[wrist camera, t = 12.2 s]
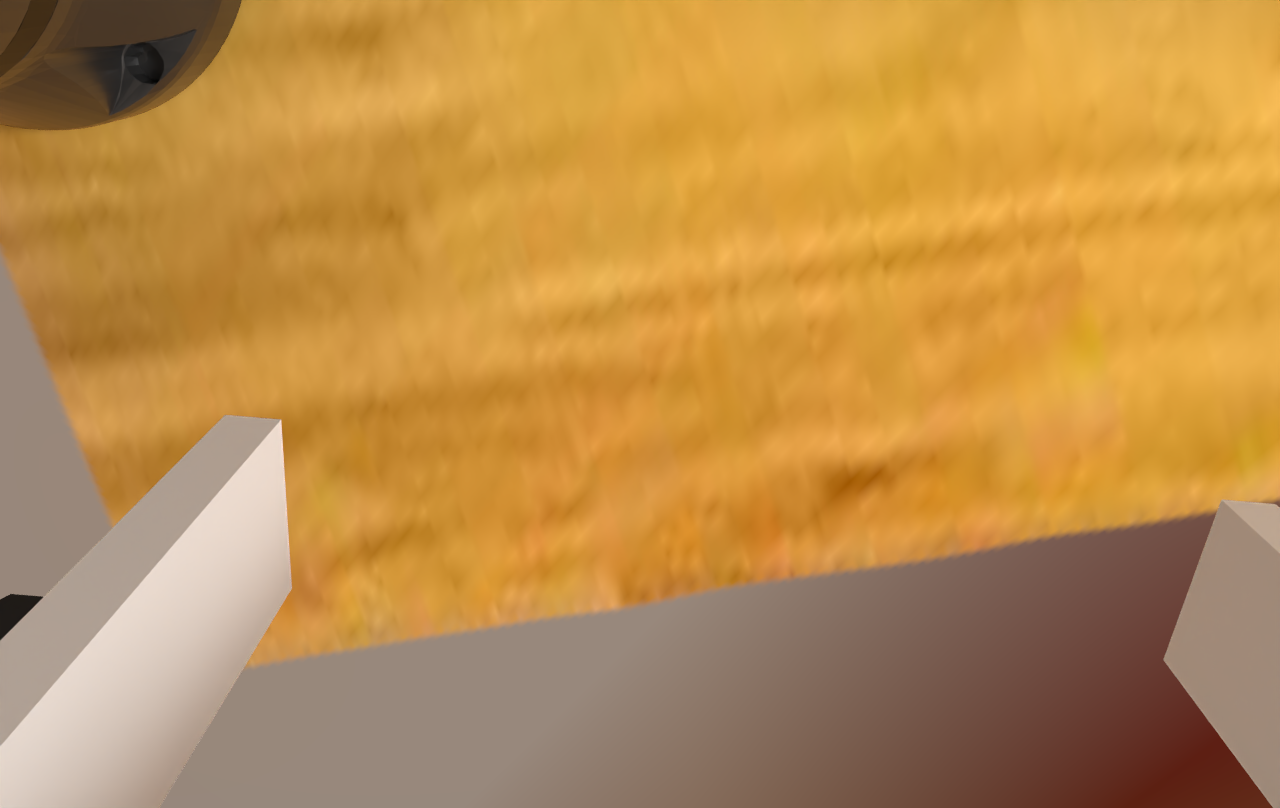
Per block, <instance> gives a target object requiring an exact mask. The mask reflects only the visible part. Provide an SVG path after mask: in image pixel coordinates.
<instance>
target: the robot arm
mask: <svg viewBox="0 0 1280 808" xmlns="http://www.w3.org/2000/svg"><path fill="white" fill-rule="evenodd" d="M240 4H241V0H0V124H3V125H7V126H12V127H19V128H25V129H38V130H70V129H81V128H87V127H93V126H97V125H101V124H105V123H109V122H113V121H117V120H121V119H125V118H129V117H132V116H135V115H138V114H141V113H144V112H146V111H149V110H151V109H153V108H155V107H158V106H159V105H161V104H163V103H165V102H167V101H168V100H170V99H171V98H173V97H174V96H176V95H177V94H179V93H180V92H182V91H183V90H184V89H185V88H187V87H188V86H189V85H190V84H191V83H192V82H193V81H194V80H195V79H197V78H198V77H199V76H200V75H201V74H202V72H203V71H204V70H205V69H206V68H207V67H208V65H209V64H210V63H211V62H212V60H213V59H214V57H215V56H216V55H217V53H218V52H219V50H220V49H221V47H222V45H223V44H224V42H225V40H226V38H227V36H228V34H229V32H230V30H231V28H232V26H233V24H234V21H235V18H236V16H237V13H238V11H239V7H240ZM291 589H292V584H291V568H290V553H289V537H288V521H287V506H286V490H285V474H284V459H283V443H282V427H281V420H279V419H267V418H255V417H244V416H232V415H225V416H224V417H223V418H222V419H221V420H220V421H219V422H218V423H217V424H216V425H215V426H214V427H213V428H212V429H211V430H210V431H209V432H208V433H207V434H206V435H205V436H204V437H203V438H202V439H201V440H200V441H199V442H198V443H197V444H196V445H195V446H194V447H193V448H192V449H191V450H190V451H189V452H188V453H187V454H186V455H185V456H184V457H183V458H182V459H181V460H180V461H179V462H178V463H177V464H176V465H175V466H174V467H173V468H172V469H171V470H170V471H169V472H168V473H167V474H166V475H165V476H164V477H163V478H162V479H161V480H160V481H159V482H158V483H157V484H156V485H155V486H154V487H153V488H152V489H151V490H150V491H149V492H148V493H147V494H146V495H145V496H144V497H143V498H142V499H141V500H140V501H139V502H138V503H137V504H136V505H135V506H134V507H133V508H132V509H131V510H130V511H129V512H128V513H127V514H126V515H125V516H124V517H123V518H122V519H121V520H120V521H119V522H118V523H117V524H116V525H115V526H114V527H113V528H112V529H111V530H110V531H109V532H108V533H107V534H106V535H105V536H104V537H103V538H102V539H101V540H100V541H99V542H98V543H97V544H96V545H95V546H94V547H93V548H92V549H91V550H90V551H89V552H88V553H87V554H86V555H85V556H84V557H83V558H82V559H81V560H80V561H79V562H78V563H77V564H76V565H75V566H74V567H73V568H72V569H71V570H70V571H69V572H68V573H67V574H66V575H65V576H64V577H63V578H62V579H61V580H60V581H59V582H58V583H57V584H56V585H55V586H54V587H53V588H52V589H51V590H50V591H49V592H48V593H47V594H46V595H45V596H44V597H39V596H28V595H15V594H10V595H8V596H6V597H4V598H2V599H1V600H0V808H159V807H160V806H161V804H162V802H163V801H164V799H165V797H166V795H167V794H168V792H169V791H170V789H171V787H172V786H173V784H174V782H175V781H176V779H177V778H178V776H179V774H180V773H181V771H182V769H183V768H184V766H185V764H186V763H187V761H188V759H189V758H190V756H191V754H192V752H193V751H194V749H195V748H196V746H197V744H198V742H199V741H200V740H201V738H202V736H203V735H204V733H205V731H206V730H207V728H208V726H209V725H210V723H211V721H212V720H213V718H214V716H215V715H216V713H217V711H218V710H219V708H220V706H221V704H222V703H223V701H224V700H225V698H226V696H227V695H228V693H229V691H230V690H231V688H232V686H233V685H234V683H235V681H236V680H237V678H238V677H239V675H240V673H241V672H242V670H243V668H244V667H245V665H246V663H247V662H248V660H249V658H250V657H251V655H252V653H253V652H254V650H255V648H256V647H257V645H258V643H259V642H260V640H261V638H262V637H263V635H264V633H265V632H266V630H267V628H268V627H269V625H270V624H271V622H272V620H273V619H274V617H275V615H276V614H277V612H278V610H279V609H280V607H281V605H282V604H283V602H284V600H285V599H286V597H287V595H288V594H289V592H290V590H291ZM1164 661H1165V662H1166V664H1167V665H1168V667H1169V668H1170V669H1171V671H1172V672H1173V673H1174V675H1175V676H1176V677H1177V678H1178V680H1179V681H1180V683H1181V684H1182V685H1183V687H1184V688H1185V690H1186V691H1187V692H1188V694H1189V695H1190V696H1191V698H1192V699H1193V700H1194V702H1195V703H1196V704H1197V705H1198V707H1199V708H1200V710H1201V711H1202V712H1203V714H1204V715H1205V716H1206V718H1207V719H1208V720H1209V722H1210V723H1211V724H1212V726H1213V727H1214V729H1215V730H1216V731H1217V733H1218V734H1219V735H1220V737H1221V738H1222V739H1223V741H1224V742H1225V743H1226V745H1227V746H1228V748H1229V749H1230V750H1231V751H1232V753H1233V754H1234V756H1235V757H1236V758H1237V759H1238V761H1239V762H1240V764H1241V765H1242V766H1243V768H1244V769H1245V770H1246V772H1247V773H1248V774H1249V776H1250V777H1251V778H1252V780H1253V781H1254V783H1255V784H1256V785H1257V787H1258V788H1259V789H1260V791H1261V792H1262V793H1263V795H1264V796H1265V797H1266V799H1267V800H1268V801H1269V803H1270V804H1271V805H1272V807H1273V808H1280V508H1279V507H1278V506H1277V505H1276V504H1266V503H1255V502H1243V501H1231V500H1221V503H1220V505H1219V508H1218V511H1217V514H1216V516H1215V519H1214V522H1213V525H1212V528H1211V530H1210V533H1209V536H1208V538H1207V542H1206V544H1205V547H1204V550H1203V552H1202V555H1201V558H1200V561H1199V563H1198V566H1197V569H1196V572H1195V575H1194V577H1193V580H1192V583H1191V585H1190V588H1189V591H1188V594H1187V596H1186V599H1185V602H1184V605H1183V607H1182V610H1181V613H1180V616H1179V618H1178V621H1177V624H1176V627H1175V629H1174V632H1173V635H1172V638H1171V640H1170V643H1169V646H1168V649H1167V652H1166V654H1165V657H1164Z"/></svg>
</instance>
